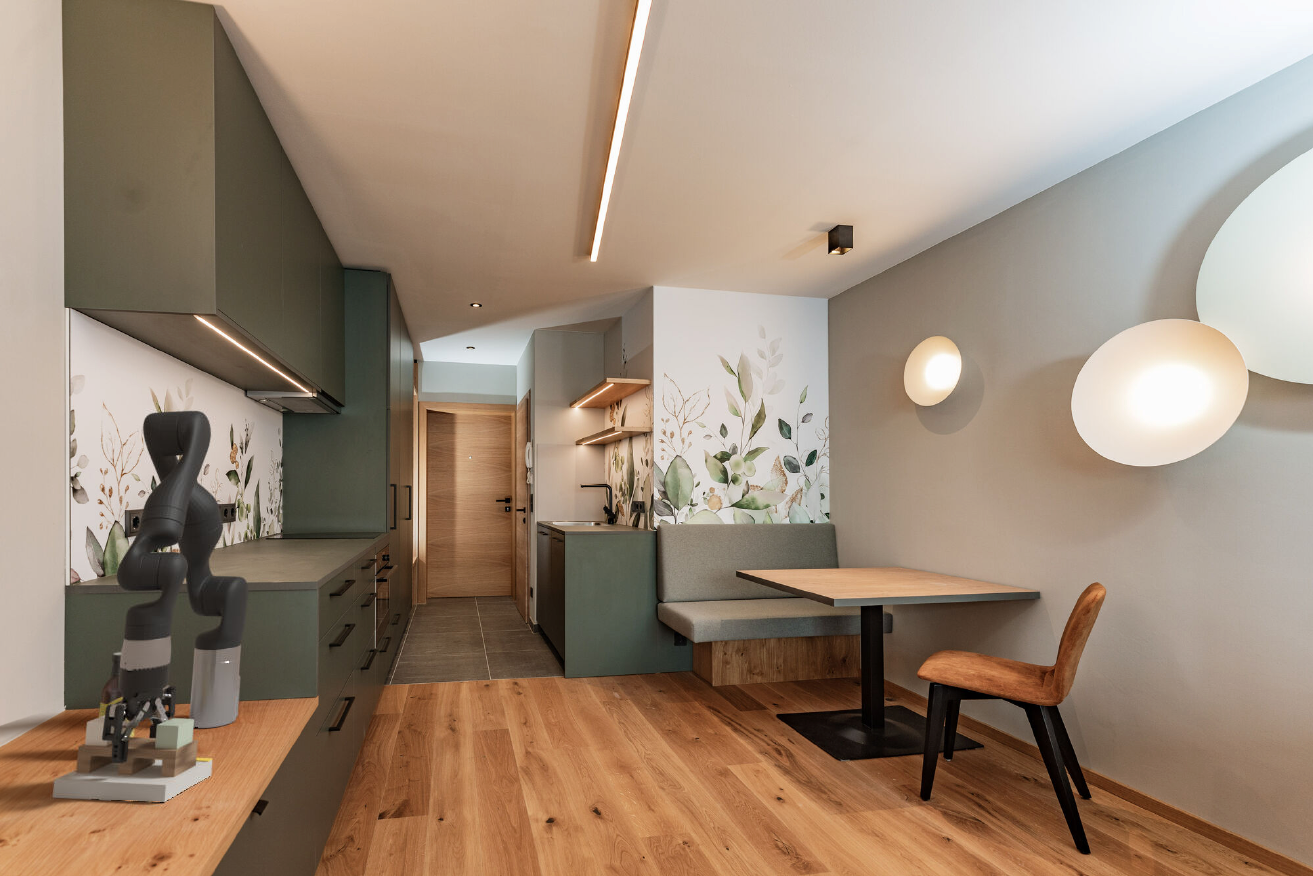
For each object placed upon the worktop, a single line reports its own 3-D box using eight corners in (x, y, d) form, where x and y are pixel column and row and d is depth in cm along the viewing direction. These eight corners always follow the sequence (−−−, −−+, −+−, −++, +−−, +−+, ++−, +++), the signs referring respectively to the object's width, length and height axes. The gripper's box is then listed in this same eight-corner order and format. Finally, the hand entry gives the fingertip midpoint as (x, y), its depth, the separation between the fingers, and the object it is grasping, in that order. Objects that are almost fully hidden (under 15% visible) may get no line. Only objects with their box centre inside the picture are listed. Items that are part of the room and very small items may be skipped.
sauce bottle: (111, 761, 140) (120, 657, 142) (85, 757, 142) (95, 655, 143) (142, 749, 147) (150, 651, 148) (116, 746, 148) (125, 648, 150)
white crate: (103, 737, 132) (105, 715, 132) (124, 738, 132) (126, 716, 132) (85, 745, 128) (87, 722, 128) (106, 746, 128) (108, 723, 128)
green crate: (171, 740, 132) (173, 718, 132) (192, 741, 131) (194, 719, 132) (155, 748, 128) (157, 725, 128) (176, 749, 127) (178, 726, 128)
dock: (108, 771, 135) (110, 753, 136) (211, 776, 134) (212, 758, 135) (52, 797, 124) (54, 778, 124) (164, 803, 123) (166, 783, 123)
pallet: (101, 761, 133) (104, 736, 133) (195, 765, 132) (197, 740, 132) (76, 772, 127) (78, 746, 127) (174, 777, 126) (176, 750, 126)
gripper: (154, 653, 138) (147, 739, 137) (93, 670, 124) (84, 767, 123) (192, 654, 138) (185, 741, 136) (135, 672, 124) (127, 769, 122)
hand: (138, 753), depth 129 cm, fingers open, 8 cm apart
